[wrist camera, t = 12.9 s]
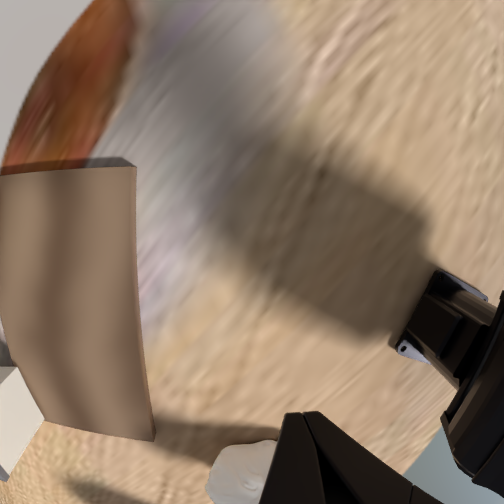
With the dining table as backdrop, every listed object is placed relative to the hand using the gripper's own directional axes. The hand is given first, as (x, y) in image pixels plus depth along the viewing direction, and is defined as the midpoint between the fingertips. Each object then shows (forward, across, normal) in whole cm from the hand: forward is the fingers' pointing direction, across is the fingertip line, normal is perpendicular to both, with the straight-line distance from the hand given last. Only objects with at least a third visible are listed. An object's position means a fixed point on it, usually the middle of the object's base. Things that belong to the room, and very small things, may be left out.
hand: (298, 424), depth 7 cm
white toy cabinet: (+11, +19, +10) cm, 24 cm away
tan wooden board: (+12, +13, +3) cm, 18 cm away
